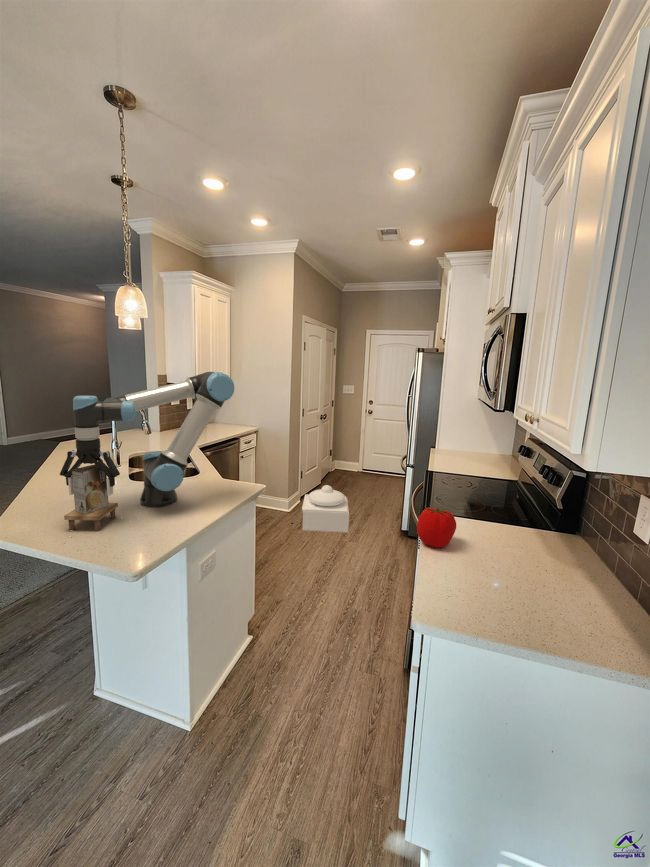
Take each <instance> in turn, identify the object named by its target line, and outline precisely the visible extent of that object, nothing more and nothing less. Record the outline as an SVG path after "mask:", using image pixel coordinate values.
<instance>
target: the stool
mask: <svg viewBox="0 0 650 867" xmlns="http://www.w3.org/2000/svg"><path fill="white" fill-rule="evenodd" d="M118 507H119V503H118V502H109V506H108V507H105V508H102V509H99V510H97V511H94V512H91V513H88V514H84V513H80V512H76V511H75V508H74V509H73V510H71V511H70V512H68V513H66V514H64V516H63V517H64V518H63V519H64V520H65V521H68V530H73V531H76V523H75V521H93V522H94V531H95V532H99V531H101V520H102V519H103V518H105V517H106V516H107V515H109V519H110V520H115V519H116V508H118Z"/></svg>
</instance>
